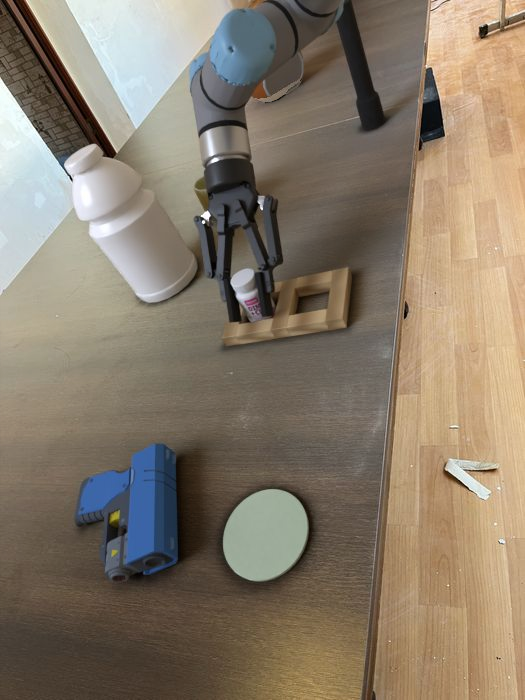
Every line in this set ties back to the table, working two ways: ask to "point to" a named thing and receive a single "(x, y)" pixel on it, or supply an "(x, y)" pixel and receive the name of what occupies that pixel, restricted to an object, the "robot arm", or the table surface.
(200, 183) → the mug
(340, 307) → the frame
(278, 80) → the alarm clock
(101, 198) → the bottle
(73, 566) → the table surface
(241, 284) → the pill bottle
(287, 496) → the coaster
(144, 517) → the stun gun
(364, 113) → the flashlight
